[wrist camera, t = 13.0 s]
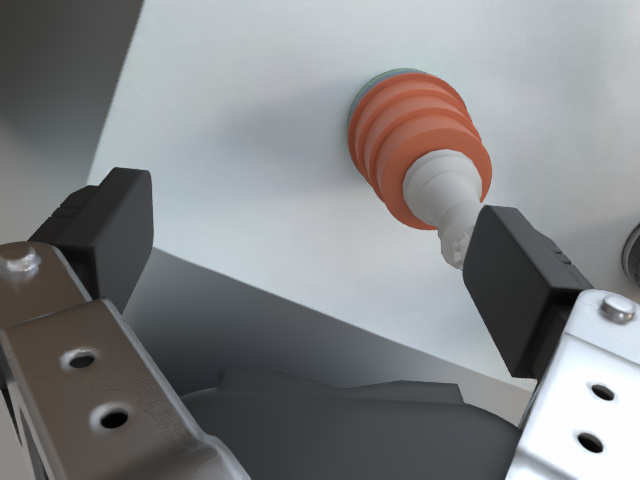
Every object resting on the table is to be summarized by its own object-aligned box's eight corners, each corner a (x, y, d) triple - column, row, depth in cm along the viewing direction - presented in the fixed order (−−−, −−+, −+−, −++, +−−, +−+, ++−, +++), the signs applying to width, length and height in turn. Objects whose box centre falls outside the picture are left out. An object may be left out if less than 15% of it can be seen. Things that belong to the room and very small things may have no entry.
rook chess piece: (430, 228, 31) (468, 308, 24) (385, 180, 30) (413, 251, 23) (490, 183, 30) (549, 253, 23) (447, 130, 28) (496, 189, 21)
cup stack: (432, 41, 37) (485, 76, 27) (472, 144, 41) (530, 208, 31) (324, 99, 39) (334, 153, 29) (372, 192, 43) (397, 268, 33)
